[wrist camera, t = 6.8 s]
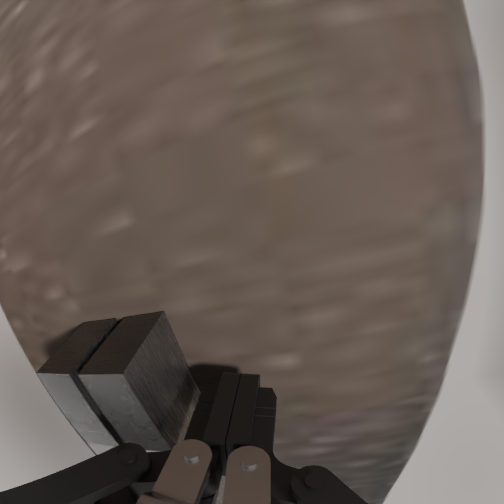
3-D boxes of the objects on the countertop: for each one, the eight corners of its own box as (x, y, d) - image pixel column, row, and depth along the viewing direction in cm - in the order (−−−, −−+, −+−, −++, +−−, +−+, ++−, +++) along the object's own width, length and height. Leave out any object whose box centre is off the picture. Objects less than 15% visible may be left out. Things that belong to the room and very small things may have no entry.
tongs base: (277, 520, 19) (272, 571, 14) (221, 520, 19) (212, 568, 14) (171, 310, 12) (115, 400, 7) (83, 322, 13) (19, 391, 8)
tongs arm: (264, 505, 18) (260, 549, 14) (239, 506, 18) (232, 548, 14) (163, 311, 12) (122, 374, 9) (124, 317, 13) (77, 374, 9)
